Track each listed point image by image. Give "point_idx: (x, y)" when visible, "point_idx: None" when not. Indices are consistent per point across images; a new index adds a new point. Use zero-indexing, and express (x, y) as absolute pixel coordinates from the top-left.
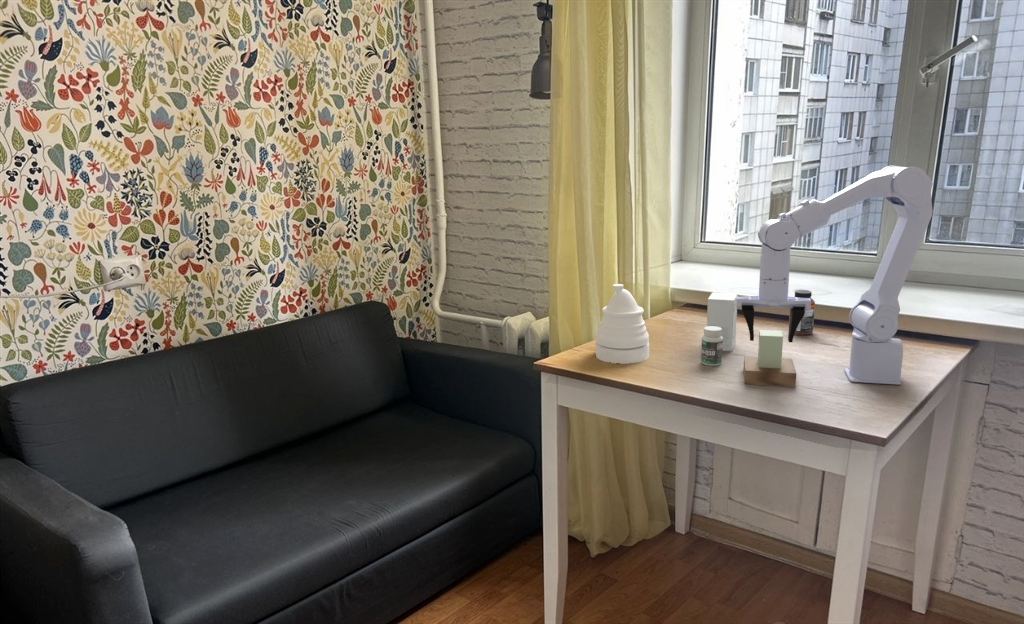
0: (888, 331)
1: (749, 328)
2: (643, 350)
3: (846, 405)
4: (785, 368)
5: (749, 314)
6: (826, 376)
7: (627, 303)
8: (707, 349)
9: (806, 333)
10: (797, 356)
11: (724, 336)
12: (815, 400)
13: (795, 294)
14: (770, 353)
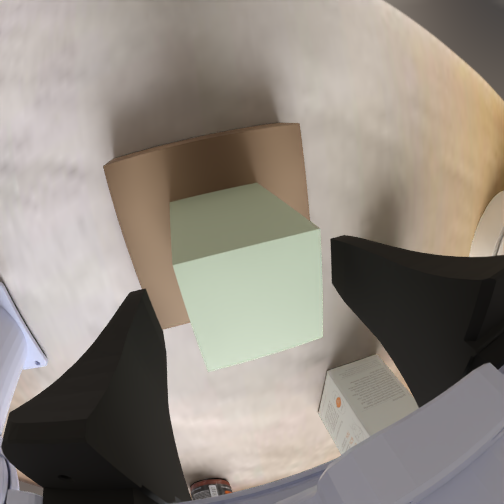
0: None
1: (398, 249)
2: (495, 232)
3: None
4: (153, 210)
5: (486, 267)
6: (63, 304)
7: None
8: None
9: (197, 484)
10: (178, 408)
11: (361, 389)
12: (48, 68)
13: None
14: (225, 209)
